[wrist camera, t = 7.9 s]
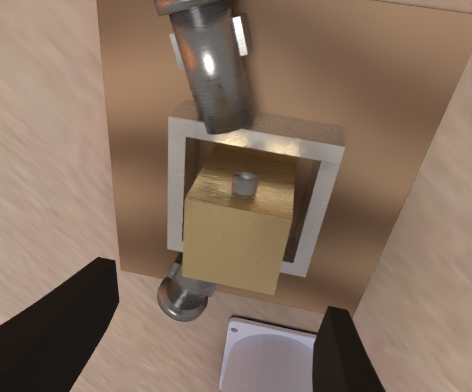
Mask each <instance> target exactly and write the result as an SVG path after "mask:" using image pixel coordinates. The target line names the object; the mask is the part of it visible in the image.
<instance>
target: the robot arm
mask: <svg viewBox="0 0 472 392" xmlns="http://www.w3.org/2000/svg"><path fill="white" fill-rule="evenodd" d="M118 303H119V293H118V283H117V273H116V263H115V260H110V259H106V258H101V257H98V258H96V259H95V260H93V261H92V262H91V263H89V264H88V265H86V266H85V267H84V268H82V269H81V270H80V271H78V272H77V273H76V274H74V275H73V276H72V277H70V278H69V279H68V280H66V281H65V282H64V283H62V284H61V285H60V286H58V287H57V288H55V289H54V290H53V291H51V292H50V293H48V294H47V295H45V296H44V297H43V298H41V299H40V300H38V301H37V302H36V303H34V304H33V305H31V306H30V307H28V308H26V309H25V310H23V311H22V312H20V313H19V314H17V315H16V316H14V317H13V318H11V319H10V320H8V321H7V322H5V323H3V324H2V325H0V392H69V391H70V390H71V388H72V386H73V385H74V383H75V381H76V380H77V378H78V376H79V375H80V373H81V372H82V370H83V368H84V367H85V365H86V363H87V362H88V360H89V358H90V357H91V355H92V353H93V352H94V350H95V348H96V347H97V345H98V343H99V342H100V340H101V338H102V337H103V335H104V333H105V332H106V330H107V328H108V326H109V324H110V321H111V319H112V317H113V315H114V313H115V310H116V308H117V306H118ZM219 388H220V389H221V392H385V390H384V388H383V386H382V384H381V382H380V380H379V378H378V376H377V374H376V372H375V370H374V368H373V366H372V364H371V362H370V359H369V357H368V355H367V353H366V351H365V348H364V346H363V344H362V342H361V339H360V337H359V335H358V332H357V330H356V328H355V325H354V323H353V320H352V318H351V315H350V313H349V311H348V310H346V309H342V308H337V307H332V306H328V308H327V310H326V313H325V316H324V318H323V321H322V323H321V326H320V329H319V331H318V334H317V335H314V334H309V333H305V332H300V331H296V330H291V329H287V328H282V327H277V326H273V325H268V324H264V323H259V322H255V321H250V320H246V319H241V318H236V317H234V318H231V319H230V320H229V324H228V331H227V337H226V343H225V350H224V356H223V362H222V369H221V375H220V381H219Z"/></svg>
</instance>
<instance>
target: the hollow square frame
mask: <svg viewBox="0 0 472 392" xmlns="http://www.w3.org/2000/svg"><path fill="white" fill-rule="evenodd" d="M253 113H254V121H253V122H252V123H251V124H249V125H248V126H246V127H244V128H242V129H239V130H236V131H233V132H229V133H225V134H217V135H210V134H207V132H206V128H205V125H204V122H202V121H201V120H200V119H199V117H198V113H197V110H196V106H195V103H194V101H191V100H184V101H183V102H182V103H181V104H180V105H179V106H178V107H177V108H176V109H175V110H174V111H173V112H172V113H171V114H170V115H169V116H168V223H167V249H170V250H175V251H179V252H183V237H184V207H185V198H186V196H187V194H188V192H189V191H190V189H191V187H192V185H193V183H194V182H195V180H196V178H197V162H198V146H199V139H201V140H207V141H213V142H218V143H224V144H230V145H235V146H241V147H246V148H252V149H258V150H263V151H269V152H275V153H280V154H286V155H292V156H297V157H303V158H308V159H314V162H313V166H312V170H311V174H310V178H309V181H308V185H307V189H306V193H305V197H304V201H303V205H302V208H301V212H300V216H299V220H298V224H297V228H296V231H295V234H292V233H289V235H288V240H287V244H286V248H285V252H284V256H283V260H282V264H281V269H280V272H281V273H286V274H291V275H296V276H301V277H306V274H307V270H308V267H309V264H310V261H311V257H312V254H313V251H314V248H315V244H316V241H317V238H318V235H319V231H320V228H321V225H322V222H323V218H324V215H325V212H326V209H327V205H328V202H329V199H330V196H331V192H332V189H333V186H334V183H335V179H336V176H337V173H338V170H339V166H340V163H341V160H342V157H343V153H344V150H345V143H344V138H343V134H342V129H341V126H339V125H333V124H327V123H321V122H316V121H310V120H304V119H298V118H292V117H286V116H280V115H274V114H268V113H262V112H256V111H253Z"/></svg>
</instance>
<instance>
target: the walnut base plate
mask: <svg viewBox="0 0 472 392" xmlns="http://www.w3.org/2000/svg"><path fill="white" fill-rule="evenodd" d="M229 2H230V6H231V11H232V16H236V15H240V14H244V13H246V15H247V20H248V25H249V30H250V35H251V40H252V45H253V48H252V50H251V51H250V52H249V53H248V54H247V55H243V56H241V58H242V62H243V67H244V72H245V76H246V81H247V86H248V90H249V95H250V99H251V104H252V109H253V111H256V112H262V113H268V114H274V115H280V116H286V117H292V118H298V119H304V120H310V121H316V122H321V123H327V124H333V125H339V126H341V129H342V134H343V138H344V143H345V150H344V153H343V157H342V160H341V163H340V166H339V170H338V173H337V176H336V179H335V183H334V186H333V189H332V192H331V196H330V199H329V202H328V205H327V209H326V212H325V215H324V218H323V222H322V225H321V228H320V231H319V235H318V238H317V241H316V244H315V248H314V251H313V254H312V257H311V261H310V264H309V267H308V270H307V274H306V277H301V276H296V275H291V274H286V273H281V272H280V273H279V277H278V281H277V285H276V289H275V293H274V295H269V294H265V293H260V292H255V291H250V290H245V289H241V288H236V287H231V286H226V285H222V284H219V286H218V287H217V288H216V290H217V291H221V292H226V293H231V294H235V295H240V296H245V297H249V298H254V299H259V300H263V301H268V302H273V303H277V304H282V305H287V306H291V307H296V308H301V309H305V310H310V311H315V312H319V313H324V314H325V313H326V310H327V308H328V306H332V307H337V308H342V309H346V310H348V311H349V313H350V315H351V318H353V315H354V313H355V311H356V309H357V307H358V304H359V302H360V300H361V298H362V295H363V293H364V291H365V289H366V287H367V284H368V282H369V280H370V278H371V275H372V273H373V271H374V269H375V266H376V264H377V262H378V260H379V258H380V255H381V253H382V251H383V249H384V246H385V244H386V242H387V240H388V238H389V235H390V233H391V231H392V229H393V226H394V224H395V222H396V220H397V217H398V215H399V213H400V211H401V209H402V206H403V204H404V202H405V200H406V197H407V195H408V193H409V191H410V189H411V186H412V184H413V182H414V180H415V177H416V175H417V173H418V171H419V168H420V166H421V164H422V162H423V160H424V157H425V155H426V153H427V151H428V148H429V146H430V144H431V142H432V140H433V137H434V135H435V133H436V131H437V128H438V126H439V124H440V122H441V119H442V117H443V115H444V113H445V111H446V108H447V106H448V104H449V102H450V99H451V97H452V95H453V93H454V91H455V88H456V86H457V84H458V82H459V79H460V77H461V75H462V73H463V71H464V68H465V66H466V64H467V62H468V59H469V57H470V55H471V53H472V13H465V12H457V11H450V10H443V9H436V8H428V7H421V6H414V5H406V4H399V3H392V2H385V1H377V0H229ZM97 12H98V23H99V34H100V45H101V56H102V67H103V78H104V89H105V100H106V111H107V122H108V133H109V145H110V156H111V167H112V178H113V189H114V200H115V211H116V222H117V233H118V244H119V255H120V266H121V270H123V271H128V272H132V273H137V274H142V275H146V276H151V277H156V278H160V279H165V278H166V277H167V275H168V273H169V271H170V269H171V267H172V265H173V263H174V261H175V258H176V257H177V255H178V253H179V251H175V250H170V249H167V223H168V116H169V115H170V114H171V113H172V112H173V111H174V110H175V109H176V108H177V107H178V106H179V105H180V104H181V103H182V102H183V101H184V100H191V101H194V100H193V96H192V93H191V89H190V86H189V83H188V79H187V76H186V72H185V69H180V70H179V66H178V63H177V60H176V56H175V53H174V50H173V46H172V43H171V40H170V36H169V34H171V33H174V32H173V28H172V25H171V21H170V18H169V15H164V16H160V17H158V14H157V11H156V8H155V5H154V1H153V0H97ZM215 144H216V142H213V141H207V140H201V139H199V146H198V162H197V176H198V174H199V173H200V171H201V169H202V167H203V165H204V164H205V162H206V160H207V158H208V156H209V155H210V153H211V151H212V149H213V147H214V146H215ZM313 162H314V159H308V158H303V157H297V156H296V170H295V186H294V202H293V217H292V223H291V227H290V231H289V233H292V234H295V231H296V228H297V224H298V220H299V216H300V212H301V208H302V205H303V201H304V197H305V193H306V189H307V185H308V181H309V178H310V174H311V170H312V166H313Z"/></svg>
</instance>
